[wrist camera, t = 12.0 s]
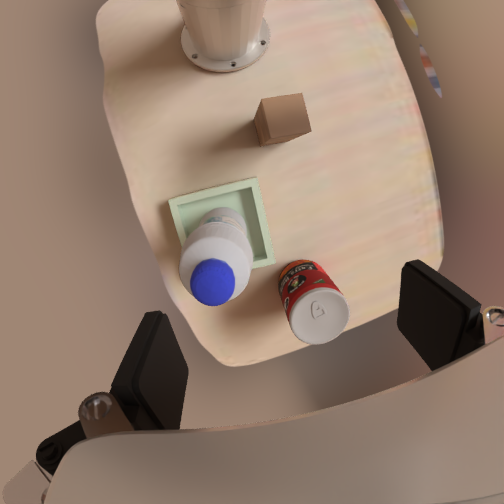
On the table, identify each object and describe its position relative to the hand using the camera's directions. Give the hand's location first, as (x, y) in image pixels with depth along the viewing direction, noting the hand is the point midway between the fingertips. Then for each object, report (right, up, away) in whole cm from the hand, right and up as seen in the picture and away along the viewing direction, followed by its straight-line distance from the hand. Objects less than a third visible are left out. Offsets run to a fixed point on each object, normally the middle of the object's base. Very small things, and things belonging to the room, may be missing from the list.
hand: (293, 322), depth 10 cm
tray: (-6, +6, +29) cm, 30 cm away
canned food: (+6, -2, +32) cm, 33 cm away
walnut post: (+1, +19, +25) cm, 32 cm away
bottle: (-6, +6, +28) cm, 30 cm away
